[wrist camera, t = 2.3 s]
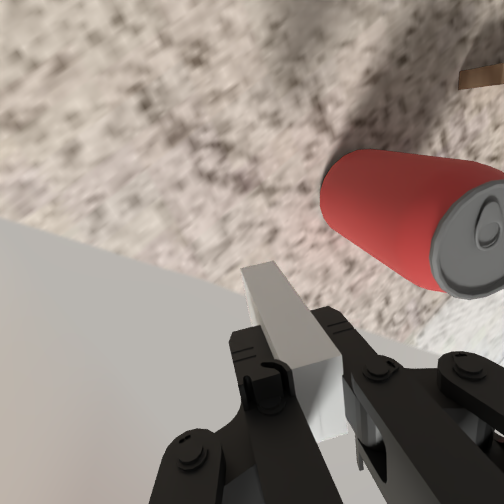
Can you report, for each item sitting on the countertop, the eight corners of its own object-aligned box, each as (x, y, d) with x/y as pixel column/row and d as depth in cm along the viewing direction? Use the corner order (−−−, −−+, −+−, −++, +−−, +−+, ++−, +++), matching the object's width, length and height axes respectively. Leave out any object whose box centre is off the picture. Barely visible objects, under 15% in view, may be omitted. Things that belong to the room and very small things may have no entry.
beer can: (393, 138, 24) (568, 148, 13) (397, 221, 27) (547, 287, 16) (310, 160, 24) (421, 190, 13) (322, 243, 26) (424, 327, 15)
